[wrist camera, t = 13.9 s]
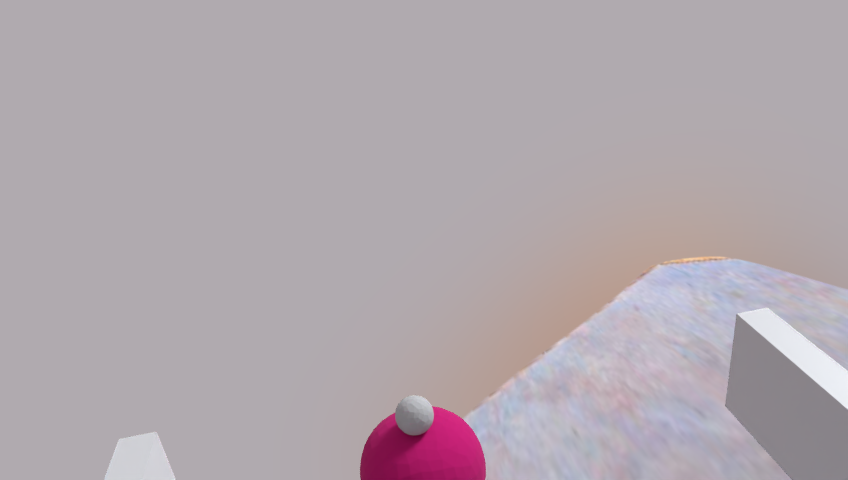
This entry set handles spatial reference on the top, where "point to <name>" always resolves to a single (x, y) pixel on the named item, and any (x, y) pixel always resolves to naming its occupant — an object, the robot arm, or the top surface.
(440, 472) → the pepper mill
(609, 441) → the top surface
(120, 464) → the robot arm
